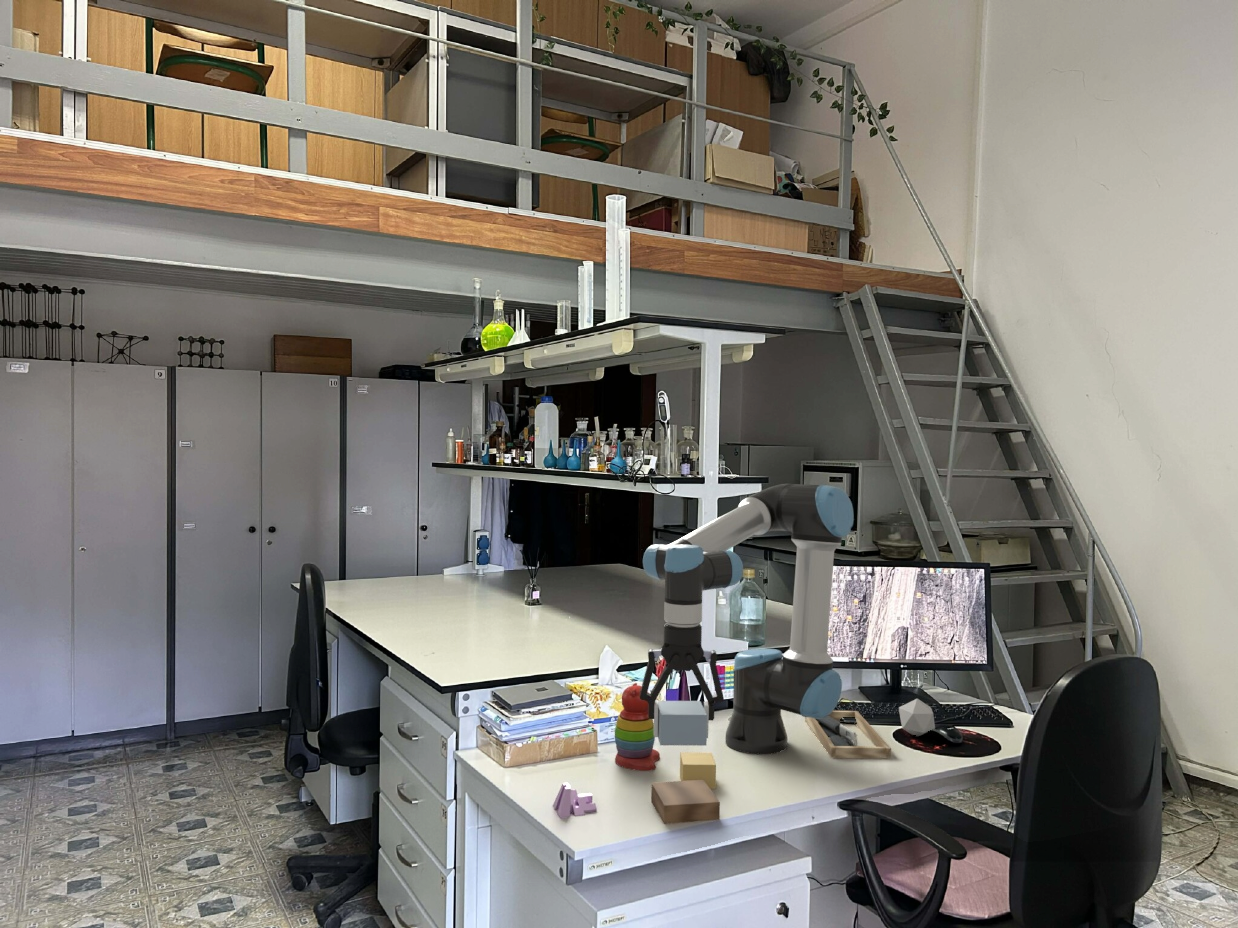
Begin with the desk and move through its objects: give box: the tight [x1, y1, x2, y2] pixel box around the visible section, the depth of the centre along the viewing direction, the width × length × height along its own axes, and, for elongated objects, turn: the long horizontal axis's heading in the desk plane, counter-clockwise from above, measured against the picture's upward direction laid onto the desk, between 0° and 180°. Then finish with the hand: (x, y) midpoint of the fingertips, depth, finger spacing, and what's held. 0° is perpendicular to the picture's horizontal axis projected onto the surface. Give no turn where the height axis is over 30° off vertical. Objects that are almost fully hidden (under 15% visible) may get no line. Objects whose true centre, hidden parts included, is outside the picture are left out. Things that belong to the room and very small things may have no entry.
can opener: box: [816, 716, 858, 746], centre depth 213 cm, size 19×6×5 cm, turn 12°
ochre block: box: [679, 752, 717, 790], centre depth 183 cm, size 7×7×6 cm
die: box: [898, 698, 936, 737], centre depth 216 cm, size 8×9×10 cm
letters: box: [552, 782, 598, 819], centre depth 169 cm, size 8×7×6 cm
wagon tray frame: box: [804, 710, 892, 759], centre depth 213 cm, size 14×28×3 cm, turn 0°
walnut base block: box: [650, 780, 721, 825], centre depth 168 cm, size 11×11×5 cm
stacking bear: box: [614, 682, 661, 772], centre depth 196 cm, size 11×10×18 cm
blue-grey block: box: [657, 700, 708, 747], centre depth 169 cm, size 9×9×6 cm
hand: (680, 735), depth 169 cm, fingers closed on blue-grey block, 9 cm apart
